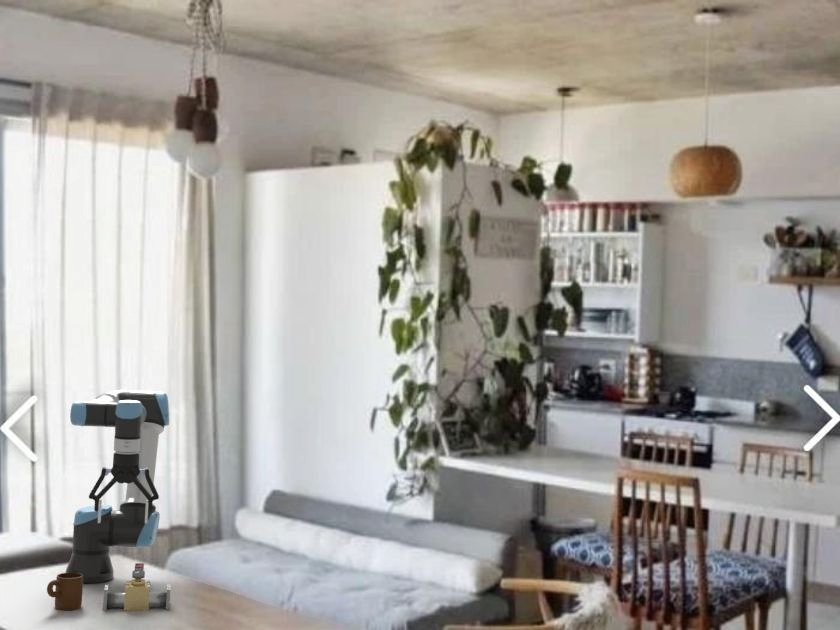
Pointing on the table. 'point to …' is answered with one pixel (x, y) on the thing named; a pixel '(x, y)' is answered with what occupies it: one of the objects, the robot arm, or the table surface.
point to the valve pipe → (136, 597)
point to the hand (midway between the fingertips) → (122, 522)
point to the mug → (67, 591)
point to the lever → (138, 571)
